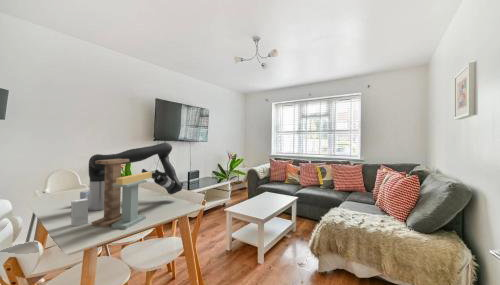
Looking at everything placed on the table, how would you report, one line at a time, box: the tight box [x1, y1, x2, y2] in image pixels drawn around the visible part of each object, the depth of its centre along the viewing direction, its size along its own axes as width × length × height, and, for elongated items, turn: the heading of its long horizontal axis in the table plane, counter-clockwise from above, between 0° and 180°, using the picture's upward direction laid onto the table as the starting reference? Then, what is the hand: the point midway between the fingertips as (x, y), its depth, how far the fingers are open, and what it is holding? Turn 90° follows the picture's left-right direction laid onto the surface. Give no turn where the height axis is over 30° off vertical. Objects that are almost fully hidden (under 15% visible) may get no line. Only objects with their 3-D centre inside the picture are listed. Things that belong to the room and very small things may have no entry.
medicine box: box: [79, 189, 90, 200], centre depth 134 cm, size 8×4×9 cm, turn 168°
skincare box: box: [70, 198, 89, 227], centre depth 102 cm, size 6×4×12 cm
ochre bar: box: [116, 171, 153, 185], centre depth 108 cm, size 4×22×3 cm, turn 170°
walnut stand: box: [90, 159, 129, 228], centre depth 107 cm, size 10×14×32 cm
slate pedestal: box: [111, 179, 148, 230], centre depth 105 cm, size 8×14×21 cm, turn 170°
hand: (149, 170), depth 119 cm, fingers open, 8 cm apart
